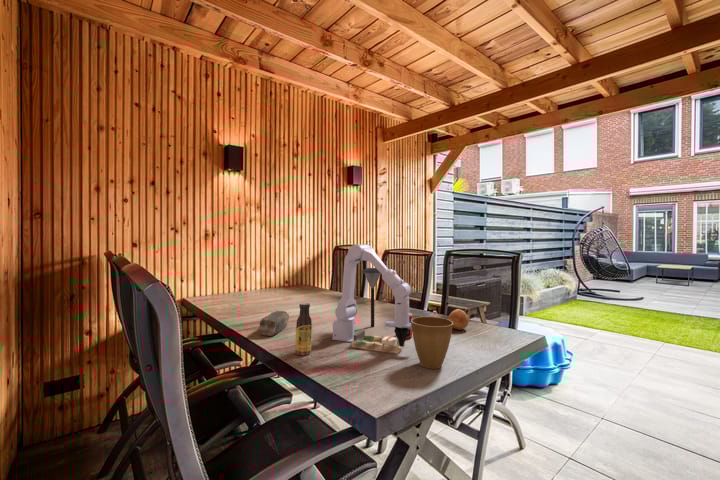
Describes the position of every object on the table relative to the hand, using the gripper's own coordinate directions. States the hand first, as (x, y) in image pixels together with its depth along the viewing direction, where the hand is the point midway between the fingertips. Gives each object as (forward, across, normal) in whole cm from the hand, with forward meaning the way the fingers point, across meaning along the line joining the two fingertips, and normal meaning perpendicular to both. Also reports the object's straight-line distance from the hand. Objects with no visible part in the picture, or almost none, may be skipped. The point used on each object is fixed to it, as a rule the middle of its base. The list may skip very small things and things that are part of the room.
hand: (401, 345), depth 138 cm
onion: (+2, +17, +41) cm, 44 cm away
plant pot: (+2, +15, -11) cm, 18 cm away
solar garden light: (+2, -24, +28) cm, 37 cm away
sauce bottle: (+2, -34, -20) cm, 40 cm away
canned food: (+2, -4, +17) cm, 18 cm away
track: (+2, -10, 0) cm, 11 cm away
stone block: (+2, -65, +1) cm, 65 cm away
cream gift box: (+1, -5, 0) cm, 5 cm away
